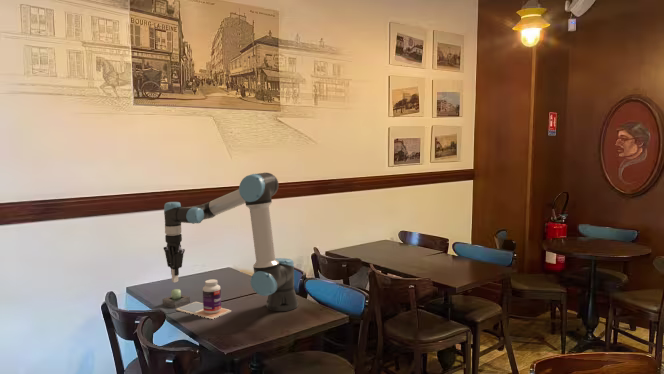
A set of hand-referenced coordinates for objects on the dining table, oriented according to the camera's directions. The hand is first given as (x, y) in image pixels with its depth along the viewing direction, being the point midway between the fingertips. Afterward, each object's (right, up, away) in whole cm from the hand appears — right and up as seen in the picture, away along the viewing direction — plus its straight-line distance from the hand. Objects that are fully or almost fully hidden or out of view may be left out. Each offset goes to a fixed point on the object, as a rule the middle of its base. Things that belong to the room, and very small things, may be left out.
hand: (175, 281), depth 232 cm
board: (+16, -12, -9) cm, 22 cm away
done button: (0, -8, +1) cm, 8 cm away
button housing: (0, -11, +1) cm, 11 cm away
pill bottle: (+21, -12, -12) cm, 27 cm away
